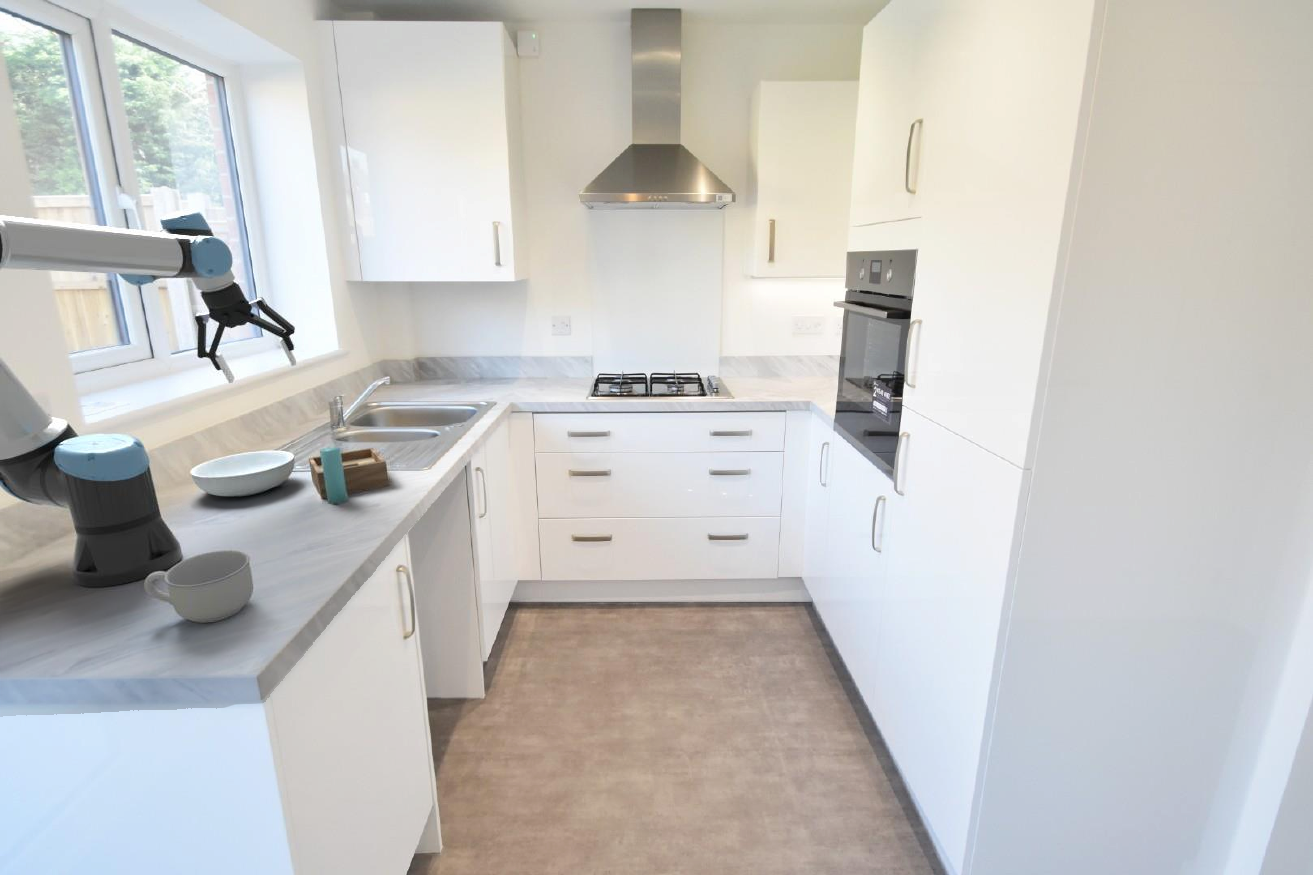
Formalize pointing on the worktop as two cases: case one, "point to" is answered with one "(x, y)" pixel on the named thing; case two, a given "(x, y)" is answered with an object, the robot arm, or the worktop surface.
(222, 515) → the worktop surface
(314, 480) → the bore box
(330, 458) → the peg
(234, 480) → the serving bowl
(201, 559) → the teacup
